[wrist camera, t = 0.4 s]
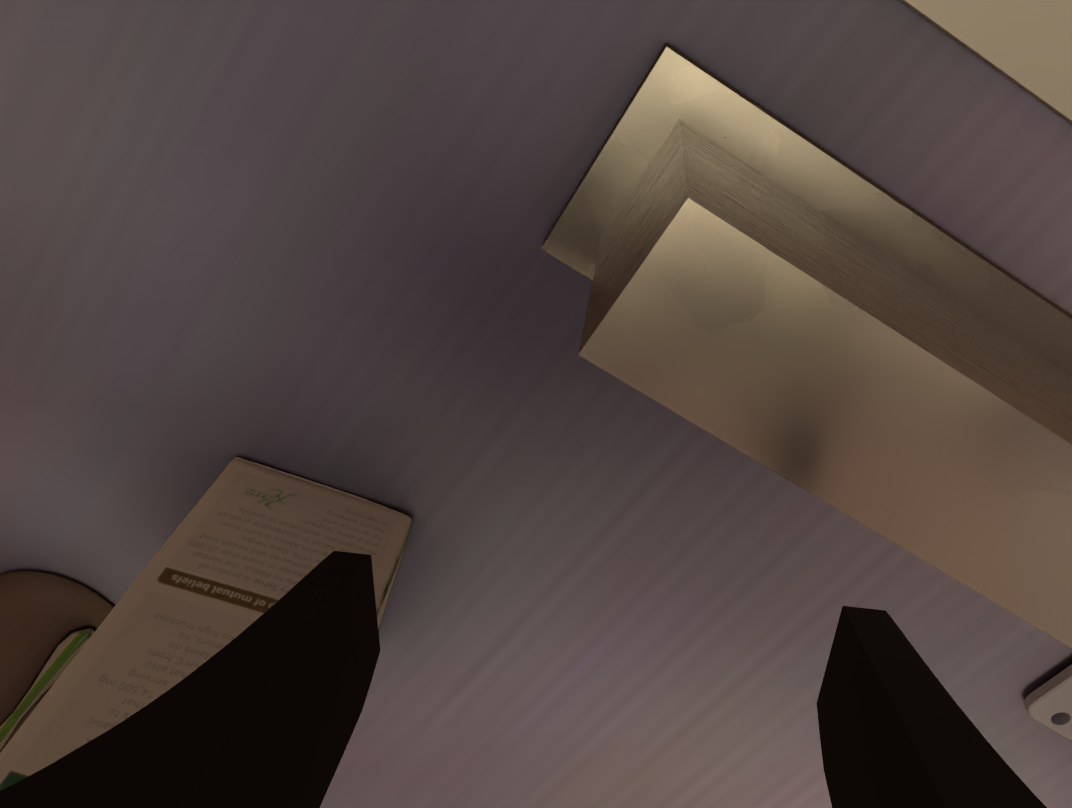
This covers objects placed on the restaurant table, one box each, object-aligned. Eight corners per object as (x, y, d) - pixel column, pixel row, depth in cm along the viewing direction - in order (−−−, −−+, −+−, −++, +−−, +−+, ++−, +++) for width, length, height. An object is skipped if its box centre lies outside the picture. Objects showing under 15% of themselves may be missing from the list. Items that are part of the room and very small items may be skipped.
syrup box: (230, 448, 24) (-241, 1006, 11) (424, 514, 24) (172, 1130, 12) (209, 587, 27) (-186, 1156, 14) (383, 644, 27) (145, 1253, 15)
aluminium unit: (1226, 419, 20) (1478, 632, 14) (1057, 553, 22) (1208, 785, 16) (666, 42, 17) (670, 96, 11) (544, 238, 20) (494, 369, 14)
